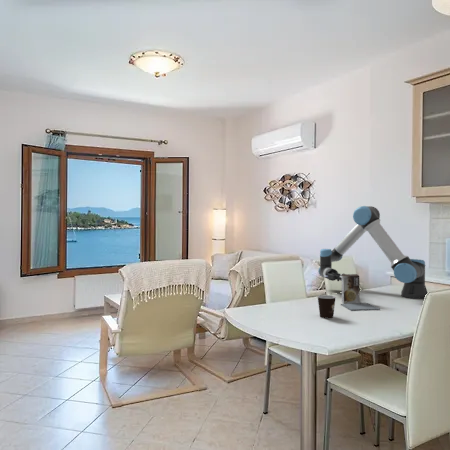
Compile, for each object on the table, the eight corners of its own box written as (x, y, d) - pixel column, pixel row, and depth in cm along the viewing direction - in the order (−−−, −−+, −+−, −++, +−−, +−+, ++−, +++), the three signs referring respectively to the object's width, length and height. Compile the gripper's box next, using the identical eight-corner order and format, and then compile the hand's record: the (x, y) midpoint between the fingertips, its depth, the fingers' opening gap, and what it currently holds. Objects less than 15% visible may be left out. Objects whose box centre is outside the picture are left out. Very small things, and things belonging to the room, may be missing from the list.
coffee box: (357, 301, 246) (357, 274, 245) (359, 303, 239) (359, 275, 239) (341, 301, 247) (341, 273, 246) (343, 303, 240) (343, 275, 240)
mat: (367, 304, 238) (367, 303, 238) (379, 309, 224) (379, 308, 224) (340, 304, 237) (340, 303, 237) (351, 310, 222) (350, 309, 222)
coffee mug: (325, 319, 203) (325, 299, 203) (314, 316, 211) (314, 296, 210) (343, 317, 208) (343, 296, 208) (331, 313, 216) (331, 294, 216)
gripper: (340, 279, 275) (355, 285, 252) (321, 280, 274) (334, 286, 250) (340, 268, 275) (355, 273, 251) (321, 268, 274) (334, 273, 250)
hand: (344, 279), depth 251 cm, fingers closed
